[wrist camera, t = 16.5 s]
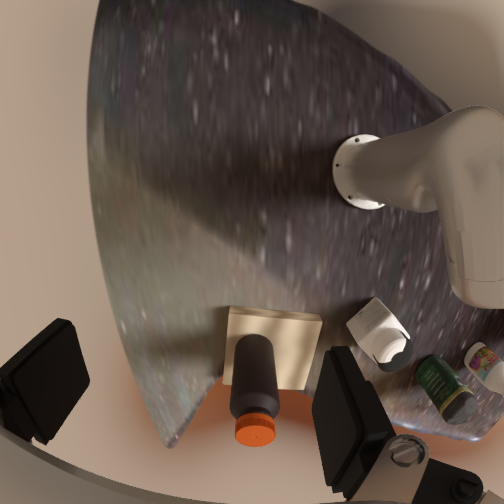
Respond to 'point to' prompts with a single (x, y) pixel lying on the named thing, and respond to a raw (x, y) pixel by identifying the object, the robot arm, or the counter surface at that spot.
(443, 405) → the coffee jar
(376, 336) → the container
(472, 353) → the milk bottle
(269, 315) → the plate
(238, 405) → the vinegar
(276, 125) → the counter surface
